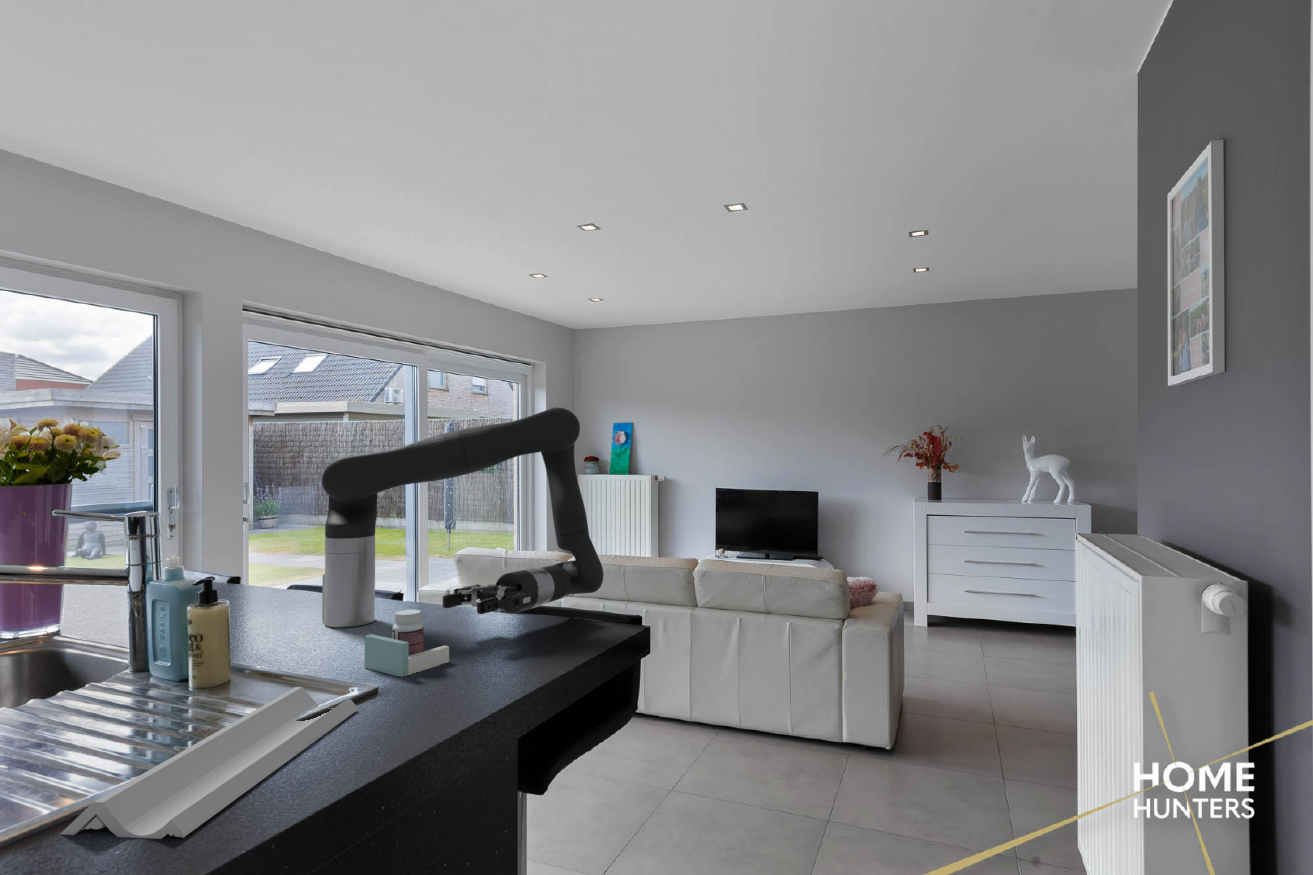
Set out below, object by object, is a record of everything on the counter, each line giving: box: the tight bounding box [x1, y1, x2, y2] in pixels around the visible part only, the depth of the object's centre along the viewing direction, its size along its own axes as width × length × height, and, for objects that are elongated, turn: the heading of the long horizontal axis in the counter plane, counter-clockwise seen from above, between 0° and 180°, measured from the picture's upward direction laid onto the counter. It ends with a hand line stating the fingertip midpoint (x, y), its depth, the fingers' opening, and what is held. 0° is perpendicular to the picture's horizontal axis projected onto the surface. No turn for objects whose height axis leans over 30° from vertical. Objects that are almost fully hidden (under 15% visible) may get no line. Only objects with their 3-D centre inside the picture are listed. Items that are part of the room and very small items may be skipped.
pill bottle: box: [391, 609, 425, 656], centre depth 115 cm, size 5×5×8 cm
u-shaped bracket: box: [364, 634, 450, 678], centre depth 114 cm, size 9×9×5 cm
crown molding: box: [60, 686, 360, 840], centre depth 79 cm, size 31×12×4 cm, turn 176°
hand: (460, 605), depth 124 cm, fingers open, 8 cm apart
